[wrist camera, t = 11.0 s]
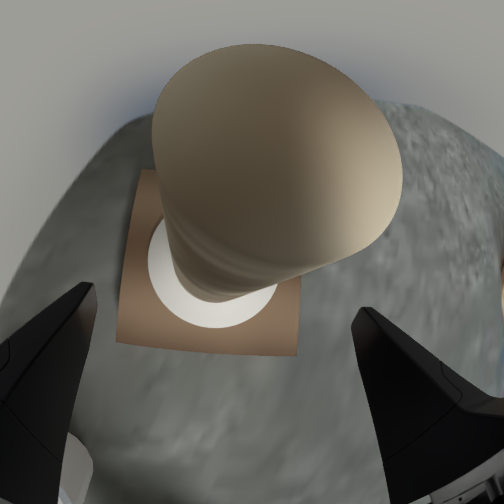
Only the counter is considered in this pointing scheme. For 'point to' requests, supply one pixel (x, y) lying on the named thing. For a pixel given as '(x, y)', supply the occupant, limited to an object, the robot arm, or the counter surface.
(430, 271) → the counter surface
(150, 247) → the walnut plinth
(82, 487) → the white short cylinder
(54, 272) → the counter surface
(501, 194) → the counter surface
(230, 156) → the birch pillar
